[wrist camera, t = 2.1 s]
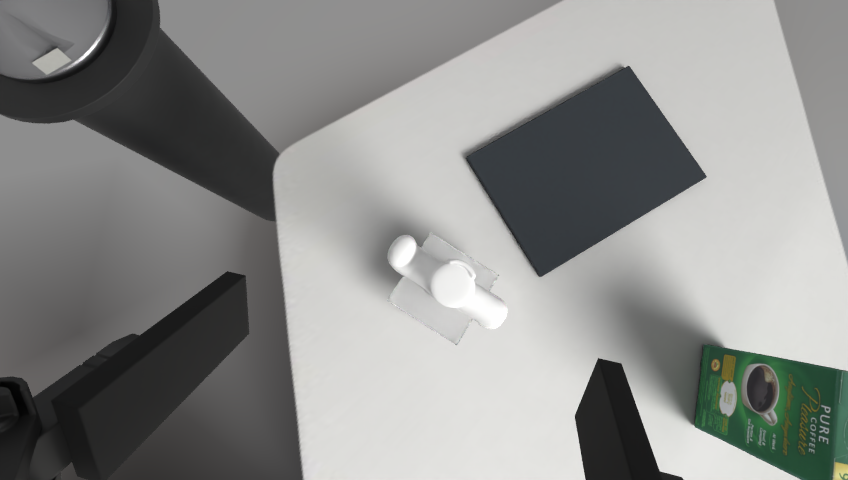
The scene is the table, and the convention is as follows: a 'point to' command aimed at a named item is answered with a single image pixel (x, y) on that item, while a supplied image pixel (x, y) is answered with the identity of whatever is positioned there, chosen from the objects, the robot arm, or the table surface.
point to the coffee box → (776, 411)
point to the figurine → (443, 287)
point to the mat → (585, 170)
